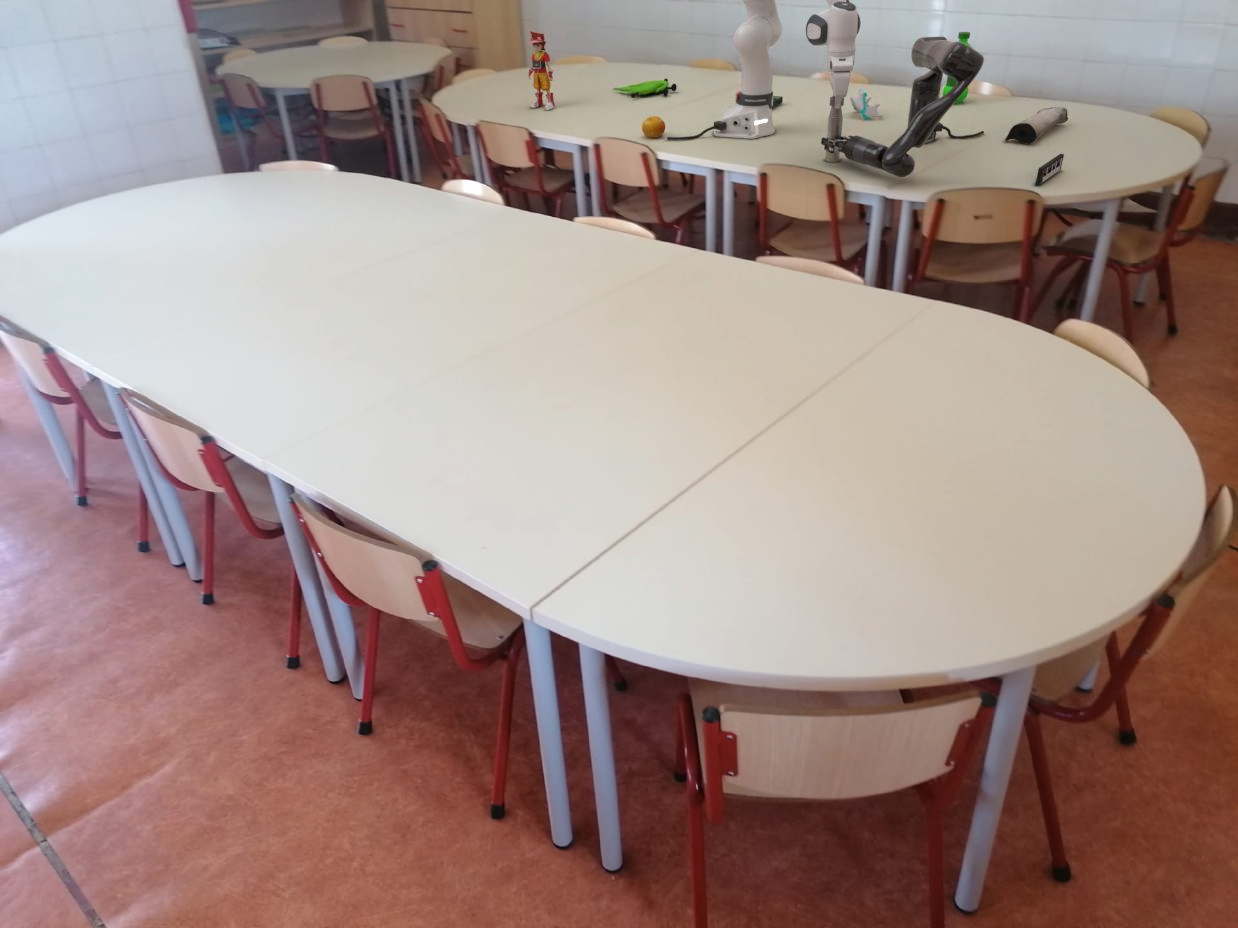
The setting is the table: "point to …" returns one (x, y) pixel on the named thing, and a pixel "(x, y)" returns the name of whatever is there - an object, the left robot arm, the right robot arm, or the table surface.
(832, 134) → the bottle
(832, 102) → the cap
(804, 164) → the table surface
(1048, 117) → the rolled mat
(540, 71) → the toy
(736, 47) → the left robot arm
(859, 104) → the anatomical model
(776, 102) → the disk drive
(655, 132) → the fruit
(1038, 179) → the midi keyboard
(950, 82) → the plastic bottle
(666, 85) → the toy
